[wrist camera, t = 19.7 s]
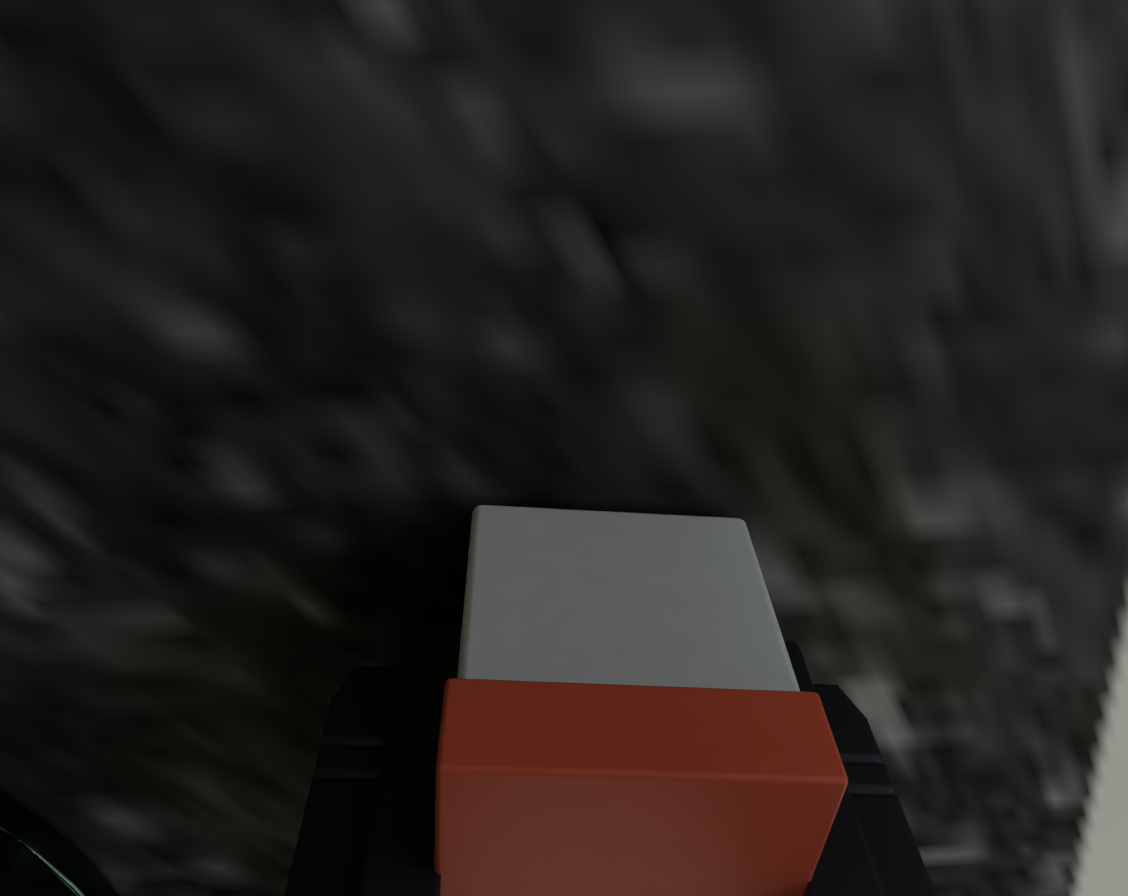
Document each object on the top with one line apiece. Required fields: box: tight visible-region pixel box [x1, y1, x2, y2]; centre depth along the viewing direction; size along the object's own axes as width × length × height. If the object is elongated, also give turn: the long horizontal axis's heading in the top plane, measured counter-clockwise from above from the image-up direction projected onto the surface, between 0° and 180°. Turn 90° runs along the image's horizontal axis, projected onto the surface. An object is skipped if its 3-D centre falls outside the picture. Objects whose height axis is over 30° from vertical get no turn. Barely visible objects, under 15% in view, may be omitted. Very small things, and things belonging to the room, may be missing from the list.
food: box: [434, 505, 848, 896], centre depth 10 cm, size 5×3×4 cm
